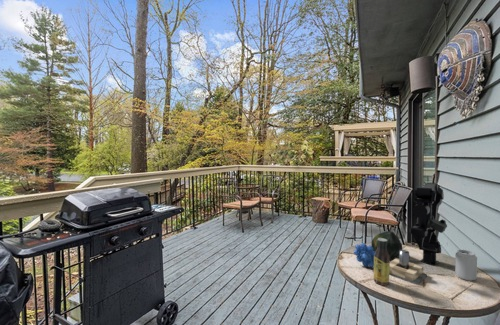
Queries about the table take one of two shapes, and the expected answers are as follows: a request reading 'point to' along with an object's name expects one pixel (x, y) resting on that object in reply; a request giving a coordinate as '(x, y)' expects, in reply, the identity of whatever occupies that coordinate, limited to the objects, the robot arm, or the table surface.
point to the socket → (407, 272)
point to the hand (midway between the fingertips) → (424, 245)
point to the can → (466, 265)
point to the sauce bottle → (381, 263)
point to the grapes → (365, 254)
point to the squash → (392, 244)
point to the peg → (404, 259)
